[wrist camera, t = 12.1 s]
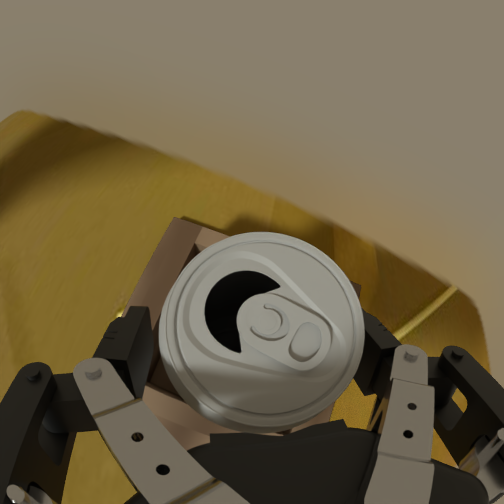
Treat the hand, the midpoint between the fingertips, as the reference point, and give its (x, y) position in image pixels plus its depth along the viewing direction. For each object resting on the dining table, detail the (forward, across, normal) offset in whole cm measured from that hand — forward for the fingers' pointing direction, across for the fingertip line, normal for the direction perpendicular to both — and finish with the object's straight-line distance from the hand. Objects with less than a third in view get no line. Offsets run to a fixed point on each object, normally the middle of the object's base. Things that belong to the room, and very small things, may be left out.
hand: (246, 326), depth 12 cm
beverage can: (+5, 0, +6) cm, 8 cm away
